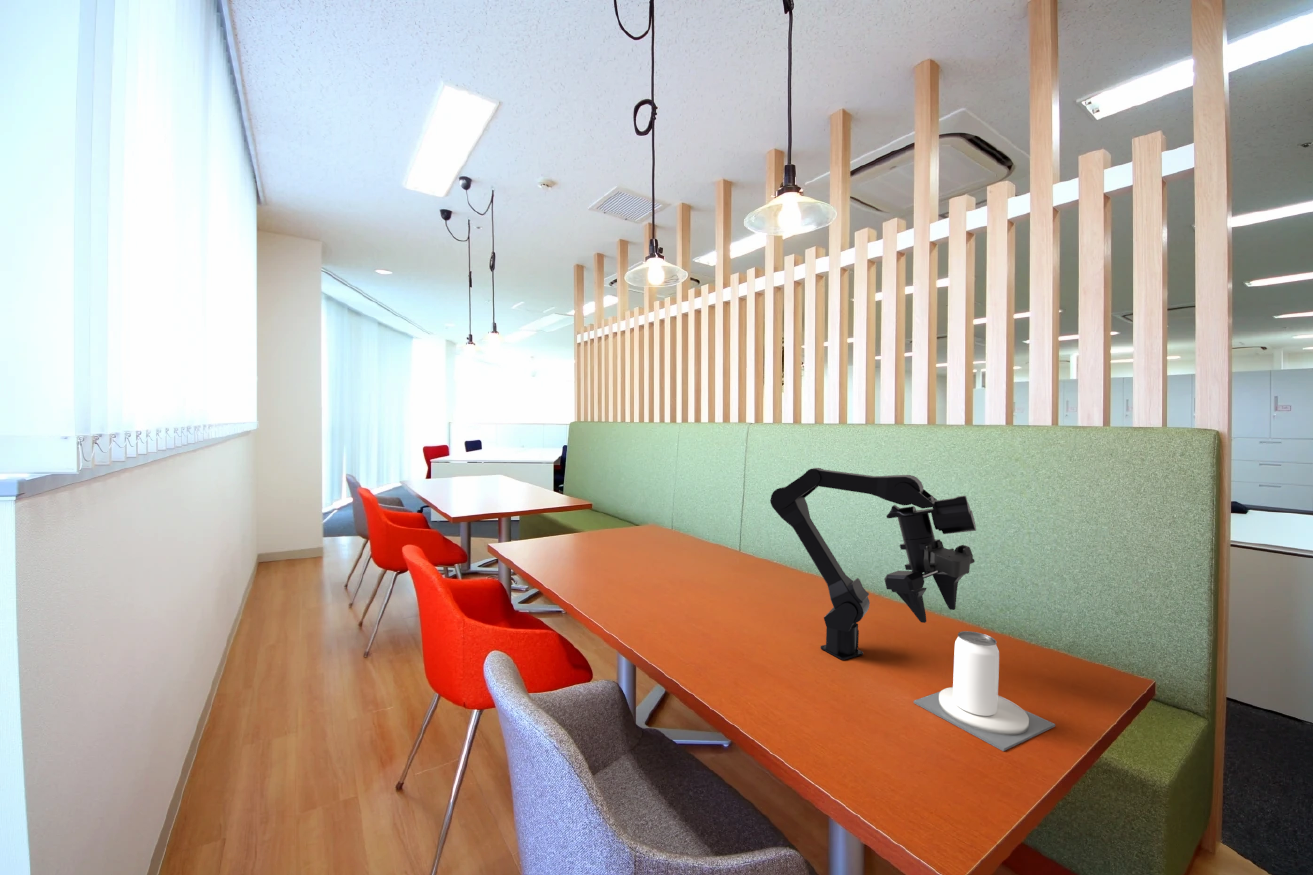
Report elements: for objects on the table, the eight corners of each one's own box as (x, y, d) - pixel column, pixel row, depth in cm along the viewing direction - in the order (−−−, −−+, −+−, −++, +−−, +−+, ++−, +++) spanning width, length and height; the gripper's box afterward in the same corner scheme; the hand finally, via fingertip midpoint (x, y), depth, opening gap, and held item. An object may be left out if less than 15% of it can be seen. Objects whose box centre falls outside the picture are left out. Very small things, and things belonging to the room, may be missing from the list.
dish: (1003, 751, 77) (1003, 742, 77) (913, 702, 91) (913, 695, 91) (1055, 726, 84) (1055, 718, 84) (964, 684, 97) (964, 677, 97)
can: (948, 694, 91) (951, 627, 91) (990, 701, 89) (993, 633, 89) (957, 713, 85) (960, 642, 85) (1002, 721, 83) (1005, 648, 83)
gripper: (925, 546, 91) (947, 635, 89) (985, 526, 100) (1007, 607, 98) (874, 547, 101) (893, 627, 99) (933, 528, 109) (952, 602, 107)
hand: (938, 615), depth 100 cm, fingers open, 9 cm apart
